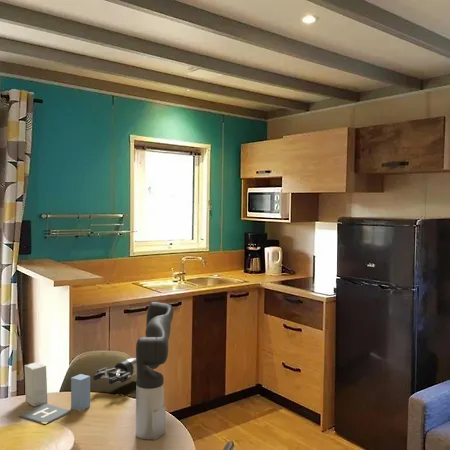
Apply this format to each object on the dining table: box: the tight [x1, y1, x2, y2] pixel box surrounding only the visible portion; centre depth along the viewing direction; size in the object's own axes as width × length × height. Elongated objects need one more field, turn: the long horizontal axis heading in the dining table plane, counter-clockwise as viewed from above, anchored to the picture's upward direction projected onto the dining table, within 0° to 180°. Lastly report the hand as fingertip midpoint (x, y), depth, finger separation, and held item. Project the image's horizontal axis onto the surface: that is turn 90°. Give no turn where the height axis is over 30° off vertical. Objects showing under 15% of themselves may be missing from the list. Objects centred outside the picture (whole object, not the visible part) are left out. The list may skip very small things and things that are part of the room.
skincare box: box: [24, 361, 48, 407], centre depth 188 cm, size 8×6×15 cm
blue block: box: [70, 373, 91, 412], centre depth 183 cm, size 5×5×12 cm
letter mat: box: [18, 403, 72, 423], centre depth 177 cm, size 14×12×1 cm
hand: (101, 379), depth 193 cm, fingers open, 8 cm apart
